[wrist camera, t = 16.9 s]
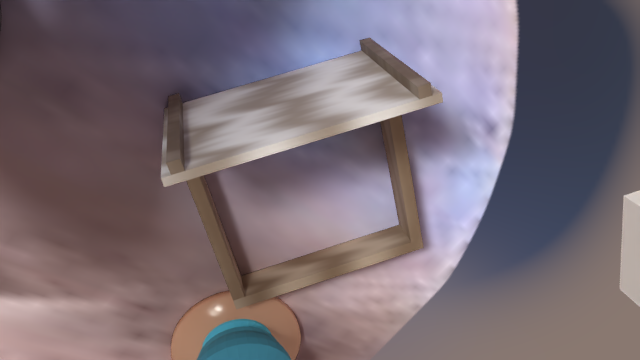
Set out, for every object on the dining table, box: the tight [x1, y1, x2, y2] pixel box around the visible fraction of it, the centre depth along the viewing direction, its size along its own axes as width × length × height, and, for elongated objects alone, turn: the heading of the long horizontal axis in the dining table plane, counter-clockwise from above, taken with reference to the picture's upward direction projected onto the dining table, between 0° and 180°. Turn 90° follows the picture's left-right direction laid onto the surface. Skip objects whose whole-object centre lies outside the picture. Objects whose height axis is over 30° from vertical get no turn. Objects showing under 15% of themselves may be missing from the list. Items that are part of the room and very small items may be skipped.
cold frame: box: [161, 38, 443, 309], centre depth 42 cm, size 17×18×12 cm
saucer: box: [171, 291, 301, 360], centre depth 54 cm, size 12×12×1 cm
